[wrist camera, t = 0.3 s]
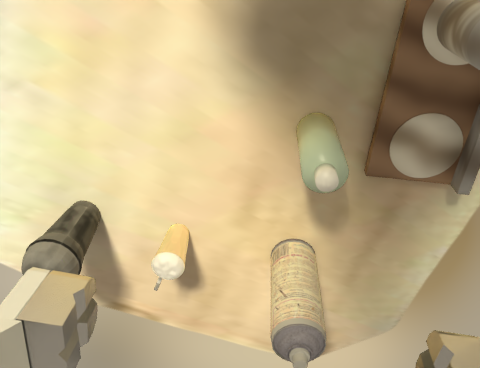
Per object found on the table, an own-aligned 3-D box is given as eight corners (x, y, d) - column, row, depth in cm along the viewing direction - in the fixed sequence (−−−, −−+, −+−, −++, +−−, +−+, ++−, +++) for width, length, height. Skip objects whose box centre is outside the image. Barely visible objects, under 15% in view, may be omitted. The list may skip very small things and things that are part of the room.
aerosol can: (264, 266, 70) (262, 376, 53) (279, 233, 67) (282, 338, 50) (305, 278, 71) (316, 390, 54) (322, 246, 68) (339, 354, 50)
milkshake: (156, 239, 69) (140, 283, 60) (172, 214, 67) (157, 256, 58) (182, 252, 70) (170, 297, 61) (198, 228, 68) (187, 272, 59)
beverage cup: (118, 224, 68) (66, 324, 51) (79, 239, 70) (15, 339, 53) (92, 186, 65) (26, 277, 48) (52, 202, 67) (-26, 296, 49)
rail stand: (413, -27, 49) (446, -18, 40) (531, -15, 49) (593, -4, 40) (364, 170, 61) (380, 212, 52) (459, 180, 61) (493, 224, 52)
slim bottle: (299, 110, 58) (306, 158, 45) (338, 114, 58) (356, 163, 45) (294, 146, 60) (299, 200, 48) (331, 150, 60) (346, 204, 48)
